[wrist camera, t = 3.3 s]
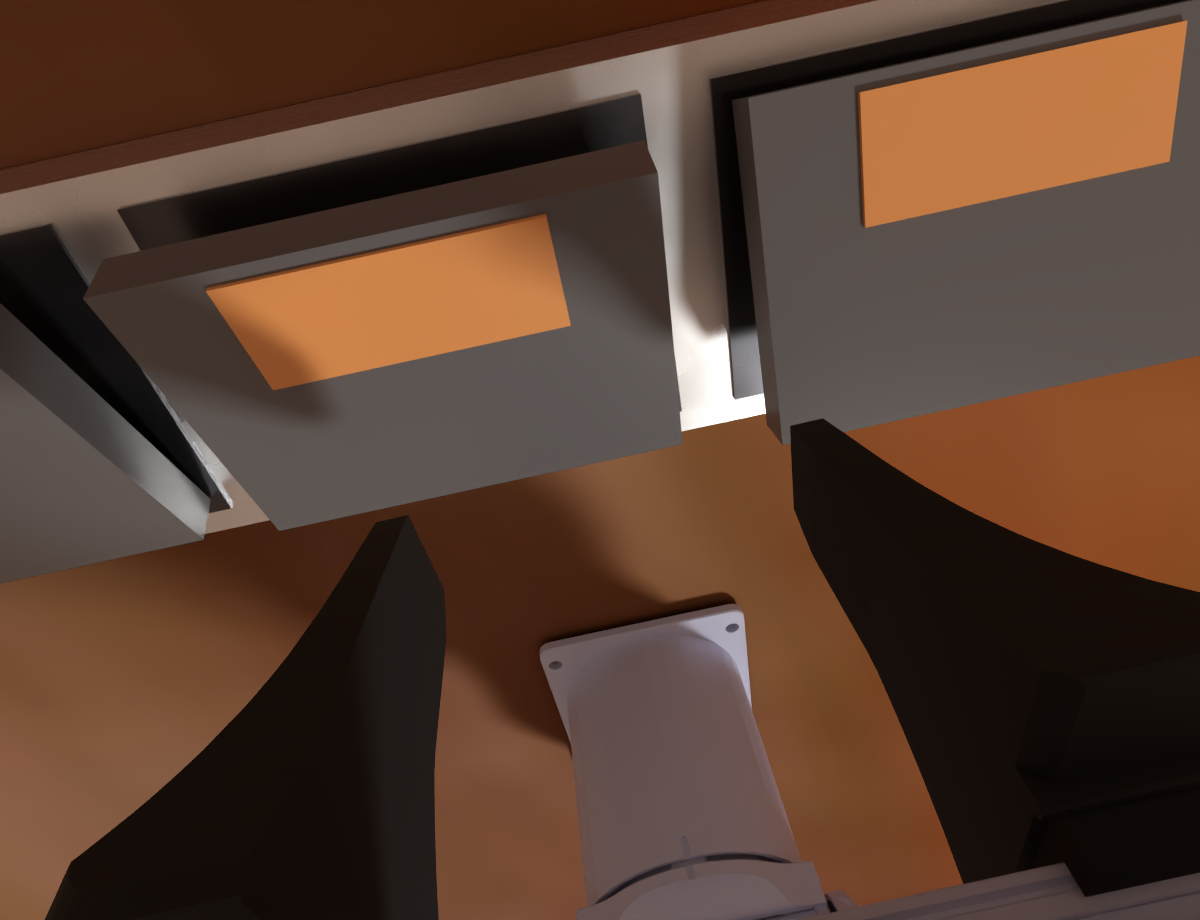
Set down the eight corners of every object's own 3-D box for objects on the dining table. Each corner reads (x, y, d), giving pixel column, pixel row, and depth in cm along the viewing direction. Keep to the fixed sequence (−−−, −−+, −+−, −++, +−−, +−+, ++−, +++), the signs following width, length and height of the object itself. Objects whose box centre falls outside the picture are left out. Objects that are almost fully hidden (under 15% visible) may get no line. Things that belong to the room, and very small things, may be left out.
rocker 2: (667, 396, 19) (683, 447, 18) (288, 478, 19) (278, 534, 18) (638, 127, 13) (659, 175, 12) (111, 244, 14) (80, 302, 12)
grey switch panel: (1096, 283, 22) (1177, 332, 19) (-106, 543, 22) (-184, 625, 20) (1195, -100, 16) (1326, -104, 14) (-413, 256, 17) (-579, 317, 14)
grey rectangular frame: (1168, 329, 18) (1233, 350, 16) (761, 417, 18) (784, 446, 16) (1215, -7, 15) (1300, -24, 13) (725, 100, 15) (750, 97, 13)
